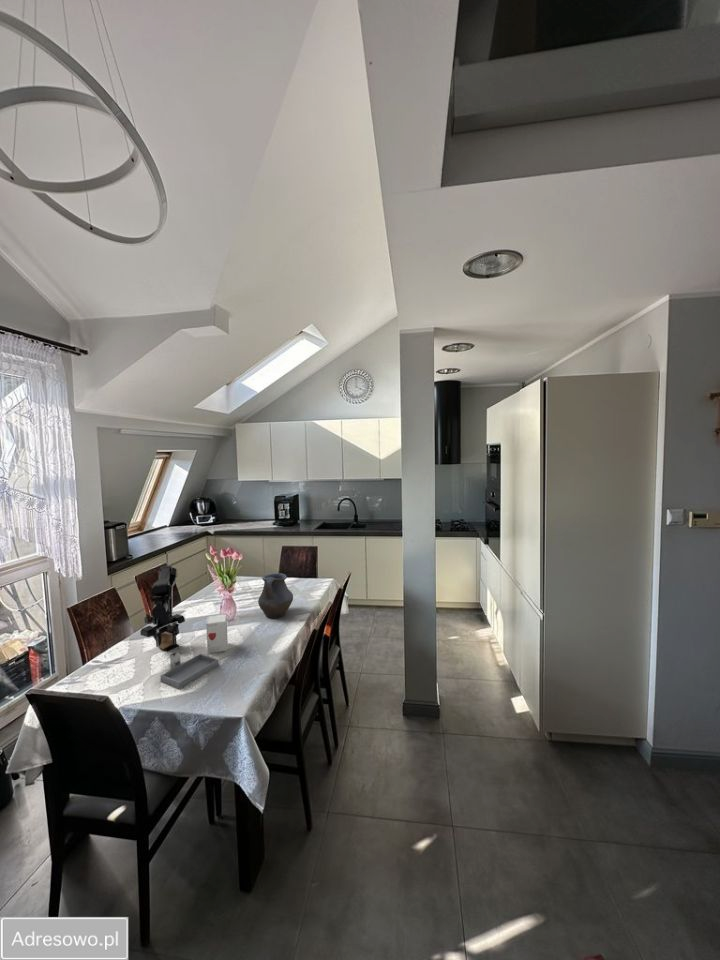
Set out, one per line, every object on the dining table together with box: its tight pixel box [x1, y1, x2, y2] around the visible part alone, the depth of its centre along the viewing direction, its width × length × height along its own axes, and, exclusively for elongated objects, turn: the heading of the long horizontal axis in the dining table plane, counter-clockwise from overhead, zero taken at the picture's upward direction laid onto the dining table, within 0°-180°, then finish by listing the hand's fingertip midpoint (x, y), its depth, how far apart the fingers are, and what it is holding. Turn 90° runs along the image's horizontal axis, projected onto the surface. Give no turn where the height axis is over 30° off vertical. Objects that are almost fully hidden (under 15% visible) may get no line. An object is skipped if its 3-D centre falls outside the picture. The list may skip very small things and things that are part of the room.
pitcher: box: [257, 572, 294, 619], centre depth 228 cm, size 21×22×25 cm
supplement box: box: [205, 614, 229, 654], centre depth 190 cm, size 9×9×15 cm
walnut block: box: [155, 632, 173, 650], centre depth 179 cm, size 5×5×5 cm
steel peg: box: [169, 652, 182, 670], centre depth 174 cm, size 4×4×6 cm
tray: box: [160, 653, 220, 690], centre depth 169 cm, size 20×12×3 cm, turn 152°
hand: (164, 643), depth 180 cm, fingers closed on walnut block, 5 cm apart
